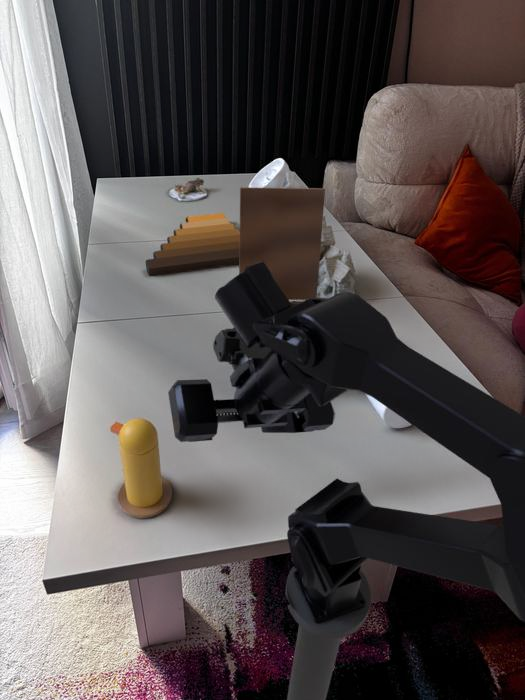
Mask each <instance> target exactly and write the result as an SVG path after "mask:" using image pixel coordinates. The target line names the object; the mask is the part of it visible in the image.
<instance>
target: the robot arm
mask: <svg viewBox="0 0 525 700" xmlns="http://www.w3.org/2000/svg"><path fill="white" fill-rule="evenodd" d="M214 300H215V301H216V303H217V304H218V305H219V307H220V308H221V310H222V311H223V313H224V314H225V316H226V318H227V319H228V320H229V322H230V323H231V325H232V326H233V328H225V329H221V330H220V331H219V332H218V333H217V335H216V336H215V337H214V341H213V344H212V345H213V346H212V349H213V351H214V354H215V357H216V359H217V361H218V363H228V364H229V365H231V366H232V369H233V371H232V373H231V374H230V376H229V381H230V385H231V387H232V388H235V392H234V394H233V395H234V396H233V398H231V399H215V398H214V391H213V387H212V386H213V385H212V383H211V382H210V381H209V379H207V378H205V379H204V378H203V379H201V378H199V379H177V380H176V381H175V382H174V383H173V384H172V386H171V387H170V389H169V390H168V392H167V395H168V400H169V407H170V414H171V419H172V427H173V433H174V438H175V439H177V440H178V441H179V442H180V443H186V442H188V443H195V442H206V441H213V438H214V437H215V436H217V434H218V427H219V424H230V423H243V428H244V429H255V428H260V429H261V433H264V434H265V433H266V434H297V433H298V434H299V433H311V432H315V431H325V430H327V429H328V428H330V427H331V426H332V425H333V424H334V422H335V419H336V411H335V406H334V404H333V400H335V399H336V398H338V397H340V396H341V395H343V394H344V393H346V392H347V391H348V390H351V391H352V390H353V391H358V392H362V394H365V395H366V394H367V395H369V396H371V397H373V398H374V399H376V400H377V401H379V402H380V403H382V404H383V405H384V406H386V407H387V408H389V409H390V410H392V411H393V412H395V413H396V414H397V415H399V416H400V417H402V418H403V419H405V420H406V421H408V422H409V423H410V424H412V425H411V426H413V427H415V428H416V429H418V430H419V431H421V432H422V433H423V434H425V435H426V436H427V437H429V438H431V439H432V440H434V441H435V442H436V443H438V444H439V445H441V446H442V447H444V448H445V449H447V450H448V451H449V452H451V453H452V454H454V455H455V456H456V457H458V458H459V459H461V460H462V461H464V462H465V463H467V464H468V465H470V466H471V467H473V468H474V469H475V470H477V471H478V472H480V473H481V474H482V475H484V476H485V477H487V478H489V480H490V483H491V485H492V487H493V489H494V492H495V494H496V496H497V498H498V501H499V502H500V503H499V504H500V508H501V517H502V524H495V523H494V524H493V523H487V522H482V521H481V522H480V521H475V520H468V519H463V518H454V517H448V516H442V515H436V514H428V513H421V512H415V511H408V510H403V509H396V508H395V509H394V508H388V507H383V506H378V505H377V506H375V505H373V504H372V503H371V502H370V499H368V497H367V496H366V494H365V493H364V492H363V491H362V485H361V483H360V482H358V481H354V482H353V481H352V482H347V481H343V480H341V479H340V478H336V479H334V480H332V482H330V483H328V484H327V485H326V486H325V487H324V488H322V489H321V490H319V491H317V493H316V494H314V495H313V496H311V497H310V498H309V499H307V500H305V501H304V502H302V504H300V505H299V506H298V507H297V508H295V509H294V511H293V512H292V513H291V514H290V515H288V516H287V524H288V525H287V526H288V529H287V532H286V536H287V537H286V538H287V542H288V545H289V546H288V547H289V550H290V556H291V561H292V564H293V566H294V567H295V568H296V569H297V571H295V572H294V575H293V577H294V579H295V581H296V584H297V586H298V588H299V590H300V593H301V595H302V597H303V599H304V601H305V604H306V606H307V608H308V610H309V612H310V615H311V617H312V619H313V621H314V622H315V623H317V624H319V623H322V622H325V621H328V620H330V619H333V618H336V617H339V616H342V615H344V614H347V613H350V612H353V611H356V610H358V609H361V608H364V607H365V605H366V601H365V599H364V597H363V595H362V593H361V592H360V590H359V586H360V582H361V575H360V574H359V572H360V570H361V568H362V565H363V564H364V563H365V562H366V561H367V560H368V559H369V560H373V561H377V562H380V563H384V564H389V565H391V566H396V567H399V568H404V569H408V570H411V571H415V572H417V573H418V572H419V573H422V574H426V575H429V576H434V577H438V578H442V579H445V580H450V581H453V582H456V583H457V582H458V583H460V584H465V585H468V586H473V587H476V588H480V589H484V590H488V591H491V592H493V593H495V594H497V596H498V597H499V598H500V599H501V601H503V603H504V604H505V605H506V606H507V607H508V608H509V609H510V610H511V612H513V613H514V614H515V616H516V617H517V618H518V619H519V620H520V621H522V622H524V623H525V415H523V414H521V413H520V412H518V411H516V410H515V409H513V408H511V406H508V405H507V404H505V403H503V402H501V401H500V400H498V399H496V398H495V397H493V396H491V395H490V394H488V393H486V392H485V391H483V390H482V389H480V388H478V387H476V386H474V385H473V384H471V383H470V382H468V381H466V380H465V379H463V378H461V377H459V376H458V375H456V374H455V373H453V372H451V371H449V370H448V369H446V368H445V367H443V366H441V365H439V364H438V363H436V362H435V361H433V360H431V359H429V358H428V357H426V356H425V355H423V354H421V353H420V352H418V351H417V350H415V349H413V348H411V347H409V345H407V344H406V343H405V342H403V341H402V340H401V339H399V337H398V336H397V335H396V332H395V331H394V329H393V327H392V325H391V323H390V321H389V319H388V318H387V317H386V316H385V315H384V314H383V313H381V312H380V311H379V310H378V309H377V308H376V307H374V306H373V305H371V304H370V303H368V302H367V301H366V300H365V299H364V298H363V297H361V296H360V295H358V294H356V293H355V294H354V293H351V292H342V293H339V294H337V295H334V296H332V297H330V298H319V297H312V298H310V299H307V300H302V301H303V302H301V303H299V304H296V305H294V306H292V304H291V303H290V301H291V300H288V299H287V297H286V296H285V294H284V293H283V291H282V290H281V288H280V287H279V286H278V284H277V283H276V281H275V280H274V278H273V276H272V274H271V272H270V270H269V269H268V267H267V266H266V265H265V263H264V262H263V261H260V262H257V263H255V264H252V265H249V266H247V267H246V269H245V270H244V272H243V273H241V274H239V273H238V274H237V275H236V276H234V277H233V278H232V279H231V280H228V282H227V283H226V284H224V285H223V286H220V287H219V288H218V289H217V290H216V293H215V295H214ZM291 306H292V307H291ZM367 395H366V396H367ZM296 574H298V575H300V576H296ZM360 602H362V603H363V604H360ZM316 617H319V620H317V619H316Z"/></svg>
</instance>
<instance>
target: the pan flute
mask: <svg viewBox="0 0 525 700" xmlns="http://www.w3.org/2000/svg"><path fill="white" fill-rule="evenodd" d="M166 241H167V242H165V243H161V244H160V246H159V247H160V250H156V251H155V250H154V251H153V252H152V255H153V256H152V257H153V258H150V259H149V258H148V259H146V260H145V268H146V269H145V270H146V273H147V275H148V276H149V277H150V276H156V275H157V276H158V275H164V274H165V275H167V274H173V273H180V272H189V271H194V270H195V271H197V270H203V269H210V268H217V267H224V266H232V265H239V242H240V230H239V228H235V225H234V223H233V222H230V217H226V215H225V212H218V213H209V214H199V215H189V216H186V217H185V222H181V223H180V224H179V228H176V229H174V230H173V235H168V237H166Z"/></svg>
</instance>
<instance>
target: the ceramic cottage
mask: <svg viewBox="0 0 525 700" xmlns="http://www.w3.org/2000/svg"><path fill="white" fill-rule="evenodd" d="M335 245H336V239H335V235H334V231H333V227H332V225H328V226H327V220H326V215H324V214H323V222H322V236H321V249H320V262H319V275H318V288H317V297H319V298H330V297H332V296H334V295H337V294H339V293H342V292H351V293H354V294H356V293H355V286H356V282H358V281H359V279H360V278H359V275H358V274H356V269H355V266H354V262H353V258H352V255H351V252H350V250H346V251H343V252H342V251H341V250H340V248H338V247H336V246H335Z"/></svg>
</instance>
